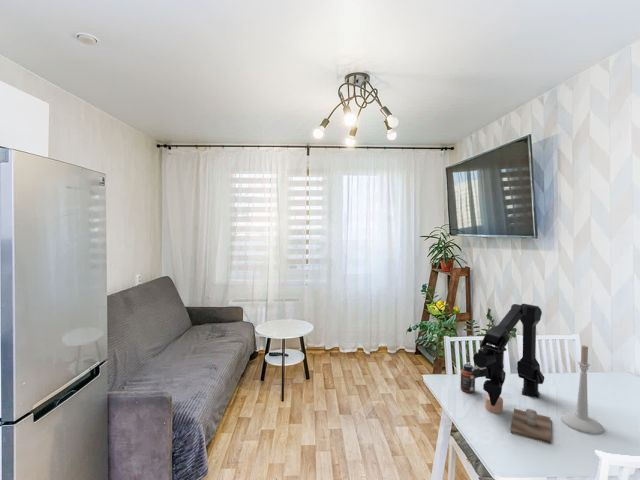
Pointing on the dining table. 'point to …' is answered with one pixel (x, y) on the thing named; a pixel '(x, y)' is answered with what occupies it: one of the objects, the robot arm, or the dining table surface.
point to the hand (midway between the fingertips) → (494, 400)
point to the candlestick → (582, 403)
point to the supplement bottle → (467, 379)
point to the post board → (531, 425)
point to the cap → (495, 409)
